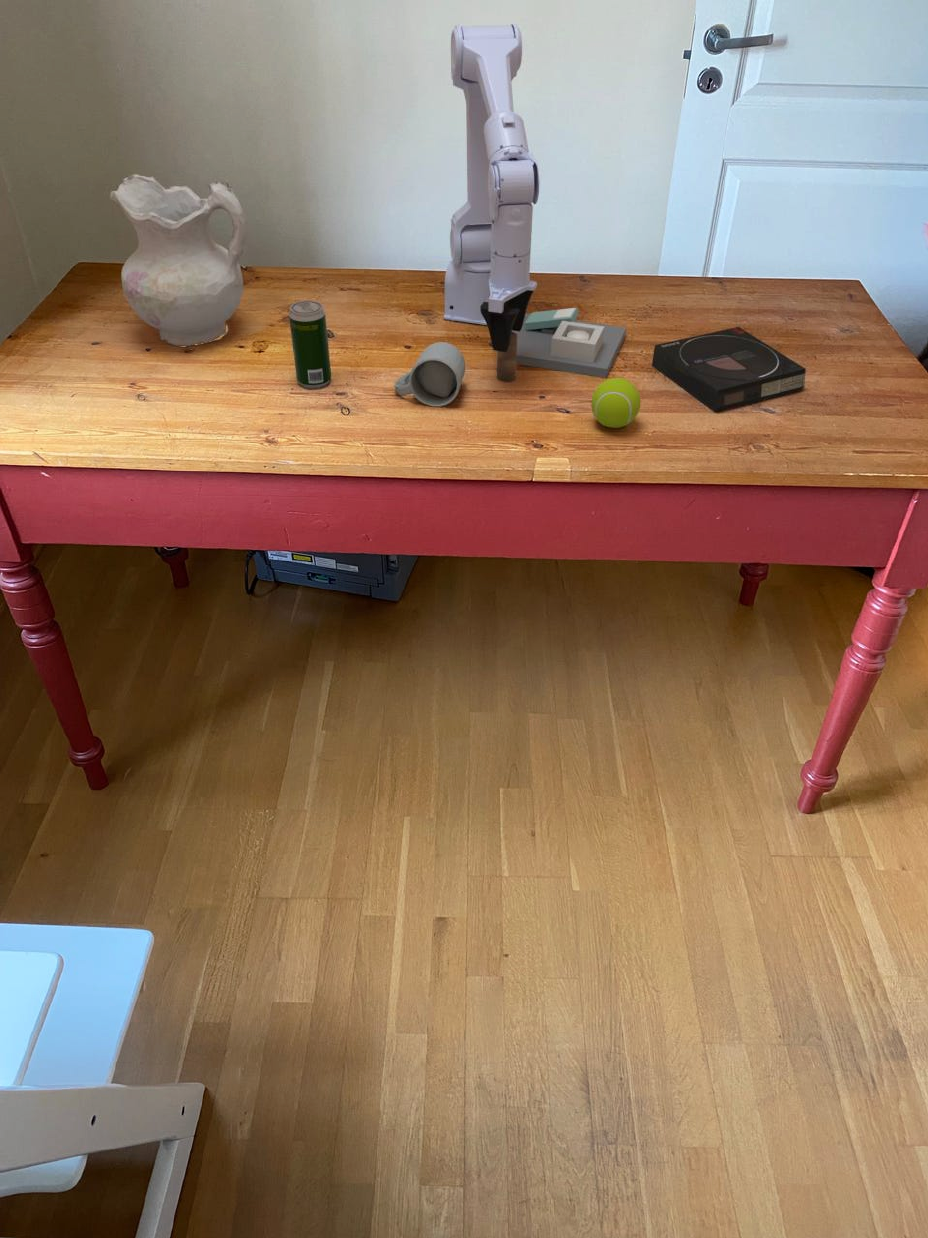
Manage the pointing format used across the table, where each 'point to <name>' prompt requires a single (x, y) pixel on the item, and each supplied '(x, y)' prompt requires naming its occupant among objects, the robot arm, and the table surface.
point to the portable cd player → (728, 368)
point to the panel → (570, 347)
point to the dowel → (507, 361)
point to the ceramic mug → (434, 375)
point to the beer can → (310, 344)
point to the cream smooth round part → (578, 334)
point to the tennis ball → (615, 403)
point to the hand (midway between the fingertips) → (507, 339)
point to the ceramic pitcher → (181, 259)
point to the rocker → (550, 318)
